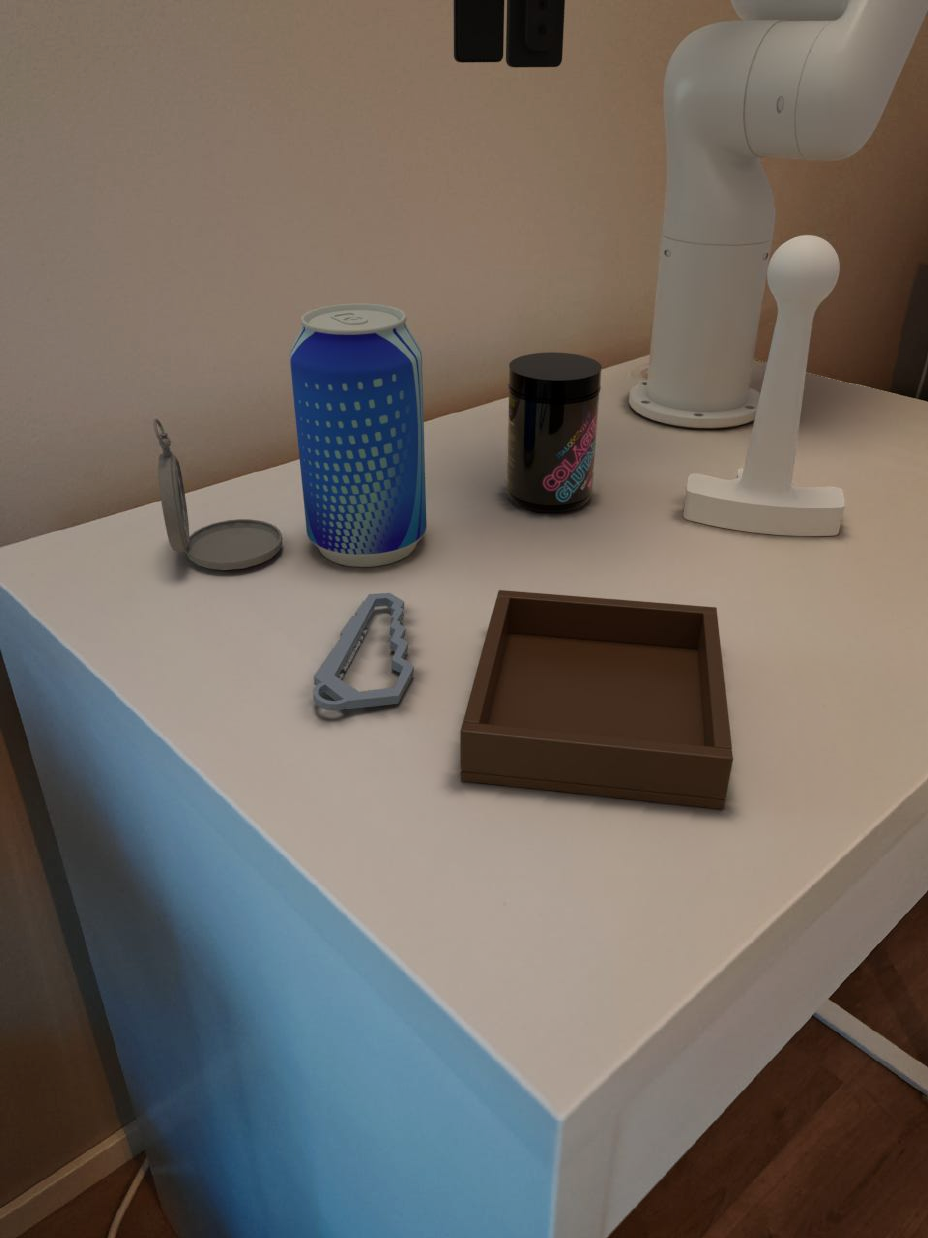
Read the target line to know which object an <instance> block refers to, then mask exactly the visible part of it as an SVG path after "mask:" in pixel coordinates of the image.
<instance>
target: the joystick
mask: <svg viewBox="0 0 928 1238" xmlns="http://www.w3.org/2000/svg"><path fill="white" fill-rule="evenodd" d="M840 263H841V262H840V258H839V255H838V253H837V250H836V249H835V248H834V246H833V245H832V244H831V243H830V242H829V241H827V240H826V239H825V238H823V237H820V236H817V235H811V234H804V235H798V236H794V237H792V238H790V239H788V240H787V241H785V242H783V243H782V244H780V246H779V247H778V248H777V249H776V250H775V252H774V253H773V254H772V256H771V258H770V259H769V263H768V269H767V276H766V282H767V285H768V288H769V290H770V293H771V294H772V296H773V297H774V299H775V302H776V306H777V317H776V320H775V321H776V322H775V326H774V330H773V335H772V339H771V343H770V348H769V353H768V357H767V361H766V367H765V371H764V376H763V379H762V384H761V389H760V392H759V394H760V397H759V402H758V407H757V411H756V416H755V420H753V425H752V430H751V435H750V438H749V443H748V448H747V452H746V457H745V462H744V465H743V466H742V467H740V468H738V470H737V474H736V478H734V479H724V478H720V477H715V476H711V475H707V474H703V473H700V472H699V473H698V472H696V473H695V472H694V473H693V472H692V473H690V474H689V475H688V478H687V484H686V489H685V490H686V491H685V498H684V504H683V505H684V506H683V508H684V509H683V514H682V517H683V519H685V520H687V521H691V522H695V523H698V524H702V525H708V526H713V527H717V528H721V529H722V528H723V529H728V530H733V531H738V532H739V531H741V532H747V533H755V534H765V535H775V536H791V537H828V536H830V537H831V536H832V537H833V536H837V535H839V533H840V529H841V524H842V519H843V515H844V510H845V507H846V504H845V503H846V502H845V496H844V491H843V489H841V488H840V487H837V486H814V487H813V486H812V487H811V486H810V487H804V486H799V485H795V484H794V483H793V476H794V470H795V469H794V468H795V460H796V452H797V445H798V437H799V431H800V430H799V429H800V422H801V414H802V405H803V399H804V389H805V383H806V376H807V367H808V360H809V354H810V353H809V352H810V346H811V345H810V344H811V336H812V328H813V321H814V316H815V314H816V311H817V310H818V307H819V306H820V305H821V304H822V302H823V301H824V300H825V299H826V298H827V297H829V295H830V294H831V293H832V292H833V290H834V289H835V287H836V285H837V283H838V281H839V276H840V271H841V264H840Z"/></svg>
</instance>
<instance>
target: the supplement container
mask: <svg viewBox="0 0 928 1238" xmlns="http://www.w3.org/2000/svg"><path fill="white" fill-rule="evenodd" d="M602 368H603V367H602V364H601V363H600V362H599V361H597V360H596V359H593V358H592V357H588V356H585V355H582V354H577V353H576V354H575V353H568V352H567V353H566V352H536V353H530V354H525V355H521V356H518V357H516V358H514V359H512V360H511V361H510V362H509V363H508V384H507V385H508V386H507V388H508V415H507V416H508V420H507V424H508V425H507V459H506V460H507V461H506V462H507V463H506V465H507V466H506V492H507V494H508V497H509V498H510V500H511V501H512V502H513V503H514V504H515V505H517V506H518V507H520V508H521V509H525V510H528V511H530V512H536V513H541V514H559V513H560V514H561V513H566V512H571V511H574V510H577V509H580V508H582V507H583V506H584V505H585V504H586V503H588V501H589V500H590V498H591V496H592V494H593V488H594V487H593V486H594V473H595V472H594V471H595V459H596V447H597V446H596V445H597V432H598V417H599V405H600V393H601V390H602V389H601V388H602V386H601V384H602V383H601V382H602V372H603V371H602V370H603V369H602Z"/></svg>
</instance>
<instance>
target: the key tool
mask: <svg viewBox="0 0 928 1238" xmlns="http://www.w3.org/2000/svg"><path fill="white" fill-rule="evenodd" d="M377 607H379V608H380V607H387V608H389V609H390V616H391V617H390V625H389V636H390V637H391V638H390V641H389V649H390V650H391V651H392V652H394V654H393V656H392V657H391V669H392V670H394V672H396V673H397V672H398V673H399V676H398V679H397V681H396V683H395V686H393V687H386V688H378V689H377V688H376V689H370V690H362V691H358V689H356V688H354V687H352V686H351V685H350V684H348V683H347V682H345V681H344V680H342V679H343V677H344V673H343V672H342V671H344V672H347V670H348V668H349V665H350V664H351V661H353V658H354V656H355V654H356V653H357V650H358V649H359V647H360V645H361V641H362V640H363V639H364V636H366V634H367V630H368V629H365V627H366V626H367V624H368V622H369V621H370V618H371V616H372V614H373V612H374V611H375V608H377ZM404 610H405V601H404V600H403V599H401V598H399V597H398V596H396V595H394V594H393V593H391V592H379V593H378V592H377V593H369V594H368V595H367V596H366V598H365V599H364V600H363V601H362V602H361V604H360V605H359V606H358V607H357V609H356V610H355V612H354V615H351V616H350V617H349V619H348V620H347V622H346V624H345V625H344V626H343V628H342V629H341V631H340V635H339V636H340V637H339V639H338V640H337V643H336V644H335V646H334V647H332V648H331V650H330V651H329V653H328V655H326V657H325V659H324V660H323V662H322V663H321V665H320V666H319V667H318V669H317V671H316V672H315V674H314V675H313V685H315V686H314V688H313V690H312V699H313V702H314V704H315V705H316V706H317V707H318V708H320V709H323V710H326V711H331V712H332V711H341V710H344V709H346V710H352V709H353V710H354V709H363V708H370V707H381V706H390V705H399V704H400V701H401V699H402V698H403V695H404V694H405V692H406V690H407V688H408V686H409V684H410V681H411V680H412V678H413V676H414V675H415V674H414V673H415V666H414V665H412V663H410V662H409V661H407V660H406V659H405V658H406V655H407V653H408V652H409V641H407V640H405V638H406V631H407V628H406V627H405V626H404V625H402V624H401V622H402V620H403V618H404ZM341 672H342V673H341ZM323 692H324V693H325V694H326V695H327V696H329V697H330V698H331V699H333V700H328V699H326V698H323V697H322V696H321V694H322V693H323Z"/></svg>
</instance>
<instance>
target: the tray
mask: <svg viewBox="0 0 928 1238" xmlns="http://www.w3.org/2000/svg"><path fill="white" fill-rule="evenodd" d="M717 610H718V609H717V607H716V606H703V605H691V604H678V603H666V602H653V601H644V600H643V601H641V600H630V599H629V600H628V599H618V598H617V599H616V598H606V597H605V598H604V597H591V596H580V595H567V594H555V593H544V592H543V593H542V592H529V591H520V590H519V591H518V590H504V589H499V590H498V591H497V594H496V598H495V602H494V605H493V609H492V613H491V616H490V619H489V623H488V627H487V631H486V634H485V639H484V643H483V646H482V650H481V653H480V656H479V661H478V664H477V668H476V672H475V676H474V679H473V683H472V685H471V690H470V694H469V698H468V701H467V704H466V709H465V712H464V715H463V719H462V724H461V727H460V732H459V736H460V737H459V743H460V744H459V746H460V747H459V748H460V749H459V750H460V752H459V753H460V755H459V756H460V762H459V763H460V772H459V773H460V774H459V775H460V776H459V777H460V781H462V782H470V783H477V784H478V783H479V784H487V785H497V786H506V787H515V788H523V789H533V790H543V791H553V792H561V793H569V794H570V793H572V794H578V795H590V796H598V797H607V798H617V799H624V800H634V801H644V802H652V803H661V804H671V805H681V806H689V807H699V808H709V809H717V810H724V809H725V805H726V798H727V795H728V794H727V793H728V789H729V783H730V778H731V773H732V768H733V763H734V756H733V745H732V736H731V729H730V728H731V726H730V717H729V709H728V708H729V707H728V699H727V690H726V682H725V672H724V663H723V654H722V653H723V652H722V644H721V635H720V626H719V616H718V611H717Z"/></svg>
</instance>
